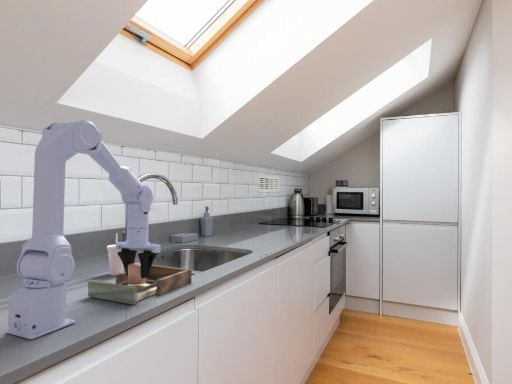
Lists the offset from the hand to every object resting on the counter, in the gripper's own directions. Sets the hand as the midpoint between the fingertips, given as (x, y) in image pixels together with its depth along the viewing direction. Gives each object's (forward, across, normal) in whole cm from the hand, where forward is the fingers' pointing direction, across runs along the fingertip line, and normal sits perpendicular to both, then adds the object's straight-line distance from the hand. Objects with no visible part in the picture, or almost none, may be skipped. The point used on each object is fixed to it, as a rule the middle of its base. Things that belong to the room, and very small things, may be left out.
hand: (137, 276), depth 95 cm
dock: (+4, 0, -7) cm, 8 cm away
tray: (+4, 0, +2) cm, 5 cm away
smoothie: (+4, +21, -13) cm, 25 cm away
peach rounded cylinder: (+2, 0, 0) cm, 2 cm away
